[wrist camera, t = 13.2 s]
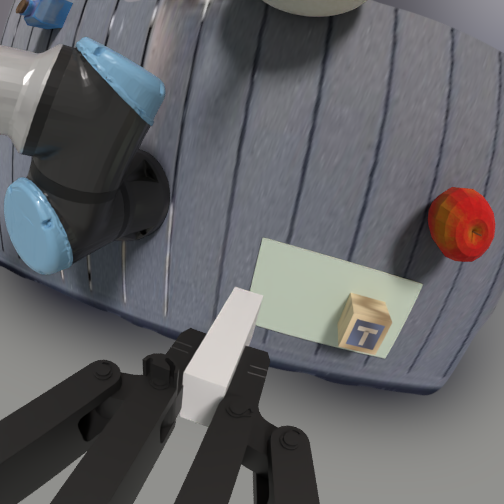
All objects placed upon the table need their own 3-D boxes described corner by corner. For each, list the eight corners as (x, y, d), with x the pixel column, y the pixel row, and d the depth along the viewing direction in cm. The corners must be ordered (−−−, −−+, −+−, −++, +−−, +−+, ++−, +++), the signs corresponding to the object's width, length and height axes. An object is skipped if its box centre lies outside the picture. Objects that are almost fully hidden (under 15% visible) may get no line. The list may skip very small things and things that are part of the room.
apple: (430, 170, 35) (468, 181, 24) (475, 196, 34) (518, 215, 23) (407, 229, 39) (435, 259, 28) (453, 251, 38) (487, 284, 27)
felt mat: (243, 319, 50) (242, 321, 49) (263, 237, 44) (262, 238, 44) (384, 357, 46) (385, 358, 46) (422, 283, 41) (422, 284, 40)
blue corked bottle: (57, 5, 35) (19, -5, 24) (72, 3, 35) (34, -10, 24) (47, 29, 38) (8, 21, 27) (62, 27, 37) (21, 18, 26)
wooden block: (375, 355, 39) (370, 332, 45) (392, 322, 37) (385, 302, 43) (338, 346, 40) (337, 324, 46) (354, 312, 38) (350, 292, 43)
